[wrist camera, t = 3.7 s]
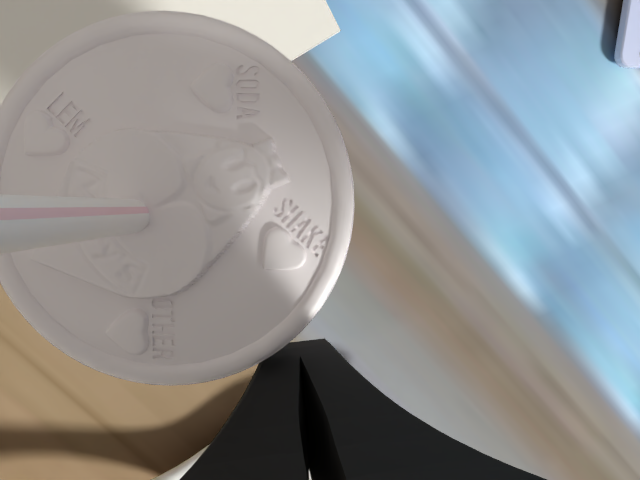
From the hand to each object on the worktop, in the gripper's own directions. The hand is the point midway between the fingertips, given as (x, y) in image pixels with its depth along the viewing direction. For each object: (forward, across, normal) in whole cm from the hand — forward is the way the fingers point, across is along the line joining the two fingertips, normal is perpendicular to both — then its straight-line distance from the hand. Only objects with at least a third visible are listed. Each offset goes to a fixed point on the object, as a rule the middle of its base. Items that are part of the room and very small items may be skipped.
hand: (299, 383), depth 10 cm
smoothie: (+9, +1, -2) cm, 9 cm away
